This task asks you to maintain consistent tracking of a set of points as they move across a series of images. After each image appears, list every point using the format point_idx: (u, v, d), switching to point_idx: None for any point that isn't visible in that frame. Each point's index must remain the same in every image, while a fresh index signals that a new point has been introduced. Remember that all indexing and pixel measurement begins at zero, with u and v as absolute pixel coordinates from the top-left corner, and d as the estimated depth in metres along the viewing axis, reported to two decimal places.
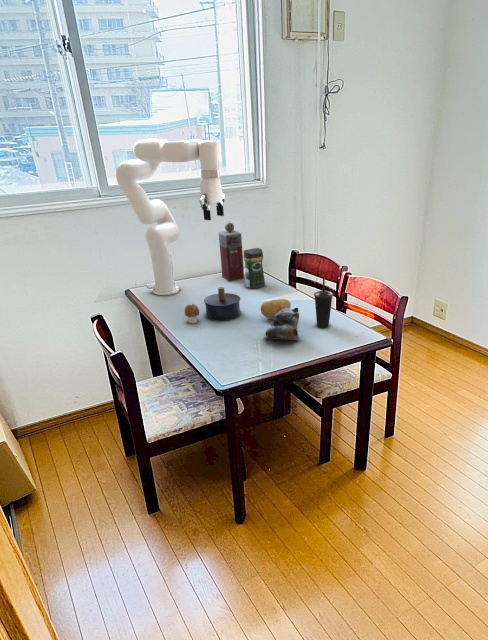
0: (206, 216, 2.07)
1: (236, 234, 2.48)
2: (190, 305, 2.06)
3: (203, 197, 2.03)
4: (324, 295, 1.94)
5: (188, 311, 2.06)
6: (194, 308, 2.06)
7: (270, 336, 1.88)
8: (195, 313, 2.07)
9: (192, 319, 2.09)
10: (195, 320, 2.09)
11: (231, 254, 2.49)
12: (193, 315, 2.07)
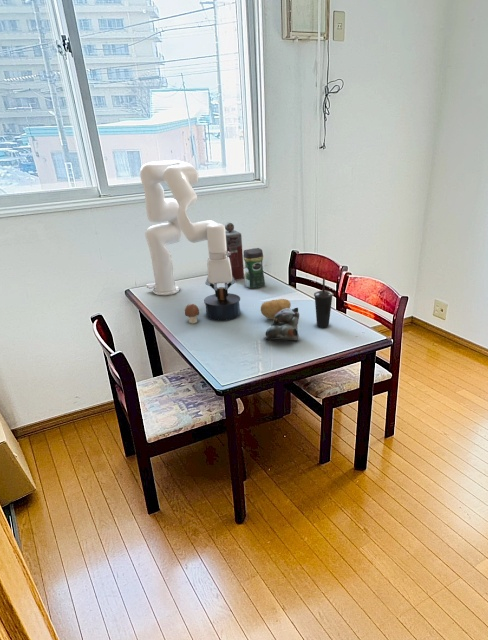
0: (215, 295, 2.12)
1: (236, 234, 2.48)
2: (190, 305, 2.06)
3: None
4: (324, 295, 1.94)
5: (188, 311, 2.06)
6: (194, 308, 2.06)
7: (270, 336, 1.88)
8: (195, 313, 2.07)
9: (192, 319, 2.09)
10: (195, 320, 2.09)
11: (231, 254, 2.49)
12: (193, 315, 2.07)
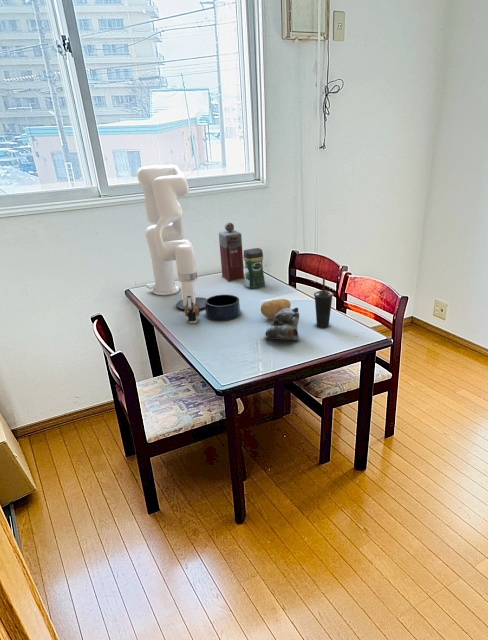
0: (192, 318, 2.06)
1: (236, 234, 2.48)
2: None
3: (190, 302, 2.00)
4: (324, 295, 1.94)
5: None
6: (194, 308, 2.06)
7: (270, 336, 1.88)
8: (195, 313, 2.07)
9: None
10: None
11: (231, 254, 2.49)
12: None
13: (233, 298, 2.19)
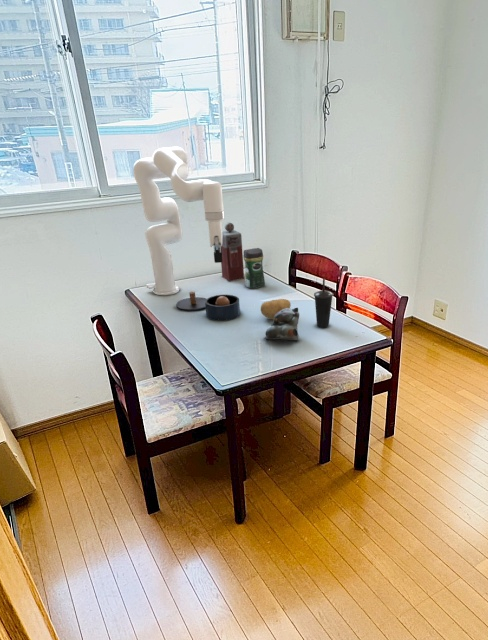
0: (219, 258, 1.99)
1: (236, 234, 2.48)
2: (221, 297, 2.12)
3: (217, 240, 1.94)
4: (324, 295, 1.94)
5: (219, 303, 2.12)
6: (225, 300, 2.12)
7: (270, 336, 1.88)
8: None
9: None
10: None
11: (231, 254, 2.49)
12: None
13: (233, 298, 2.19)
